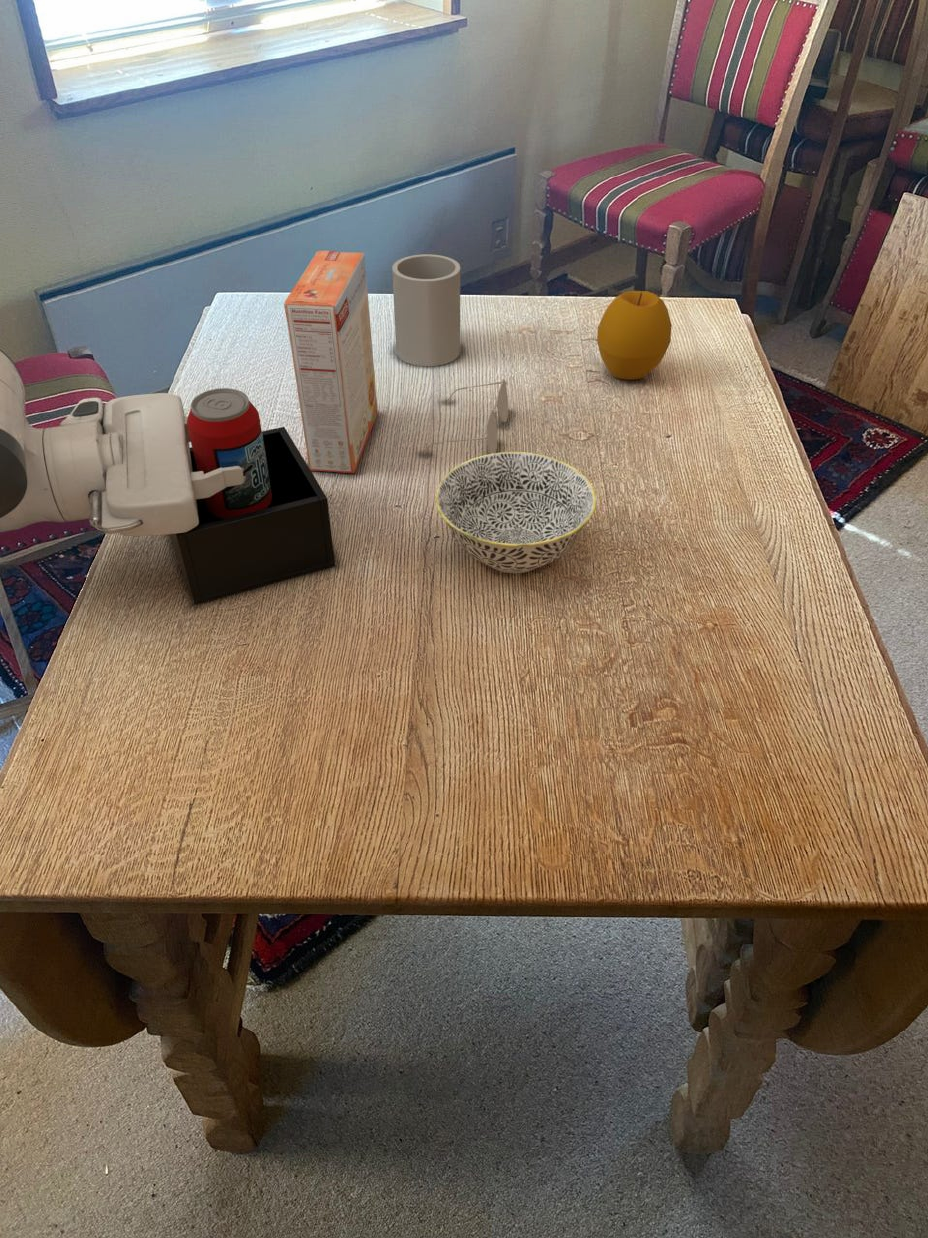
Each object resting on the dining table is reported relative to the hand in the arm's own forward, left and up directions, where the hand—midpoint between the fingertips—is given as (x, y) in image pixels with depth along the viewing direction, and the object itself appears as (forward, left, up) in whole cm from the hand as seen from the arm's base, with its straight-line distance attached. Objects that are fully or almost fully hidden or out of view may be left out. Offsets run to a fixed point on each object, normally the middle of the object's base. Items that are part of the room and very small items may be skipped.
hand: (238, 449), depth 88 cm
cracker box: (+15, +15, -12) cm, 25 cm away
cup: (+34, +33, -12) cm, 49 cm away
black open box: (-1, 0, -12) cm, 12 cm away
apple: (+56, +15, -12) cm, 59 cm away
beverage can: (-1, 0, -7) cm, 7 cm away
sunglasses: (+30, +11, -12) cm, 34 cm away
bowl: (+24, -13, -12) cm, 30 cm away
